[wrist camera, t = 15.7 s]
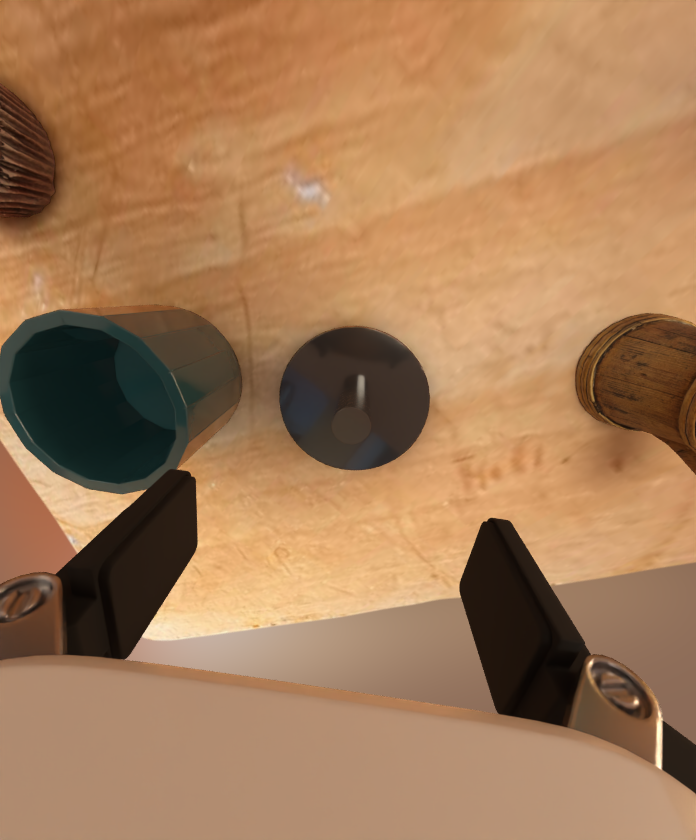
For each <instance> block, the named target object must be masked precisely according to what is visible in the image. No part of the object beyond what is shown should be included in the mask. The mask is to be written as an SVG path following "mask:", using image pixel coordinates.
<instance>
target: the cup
mask: <svg viewBox="0 0 696 840" xmlns="http://www.w3.org/2000/svg"><path fill="white" fill-rule="evenodd" d="M241 389H242V378H241V372H240V367H239V364H238V360H237V358H236V356H235V353H234V351H233V350H232V348H231V346H230V344H229V343H228V341H227V340H226V339H225V337H224V336H223V335H222V334H221V333H220V332H219V331H218V330H217V329H216V328H215V327H214V326H213V325H212V324H211V323H209V322H208V321H207V320H205V319H204V318H202V317H201V316H199V315H197V314H195V313H193V312H191V311H188V310H185V309H182V308H178V307H174V306H162V305H138V306H119V307H100V308H81V309H62V310H56V311H53V312H50V313H46V314H43V315H40V316H36V317H33V318H30V319H26V320H25V321H24V322H23V323H22V324H21V325H20V326H19V327H18V328H17V329H16V331H15V332H14V333H13V334H12V335H11V336H10V337H9V338H8V339H7V341H6V342H5V343H4V344H3V345H2V348H1V353H0V399H1V404H2V408H3V412H4V414H5V417H6V418H7V420H8V421H9V423H10V425H11V426H12V428H13V429H14V431H15V432H16V434H17V436H18V437H19V439H20V440H21V442H22V443H23V445H24V446H25V448H26V449H28V450H29V451H30V452H31V453H32V454H33V455H34V456H35V457H37V458H38V459H39V460H40V461H41V462H42V463H43V464H45V465H46V466H47V467H48V468H49V469H50V470H51V471H53V472H55V473H56V474H58V475H60V476H62V477H64V478H66V479H68V480H70V481H72V482H74V483H76V484H79V485H81V486H83V487H85V488H88V489H91V490H98V491H104V492H111V493H117V494H126V493H131V492H136V491H141V490H146V489H148V488H150V487H151V486H152V485H153V484H154V483H155V482H156V481H157V480H158V479H159V478H160V477H161V476H162V475H163V474H164V473H166V472H167V471H168V470H169V469H175V470H177V469H178V468H179V467H180V466H181V465H182V464H183V463H184V462H185V461H186V460H188V459H189V458H190V457H191V456H192V455H193V454H194V453H195V452H196V451H197V450H198V449H199V448H201V447H202V446H203V445H204V444H205V443H206V442H207V441H208V440H209V439H210V438H211V437H212V436H213V435H215V434H216V433H217V432H218V431H219V430H220V429H221V428H222V427H223V426H224V425H225V424H226V423H227V422H228V421H229V420H230V418H231V417H232V415H233V414H234V412H235V410H236V408H237V406H238V403H239V400H240V396H241Z"/></svg>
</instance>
